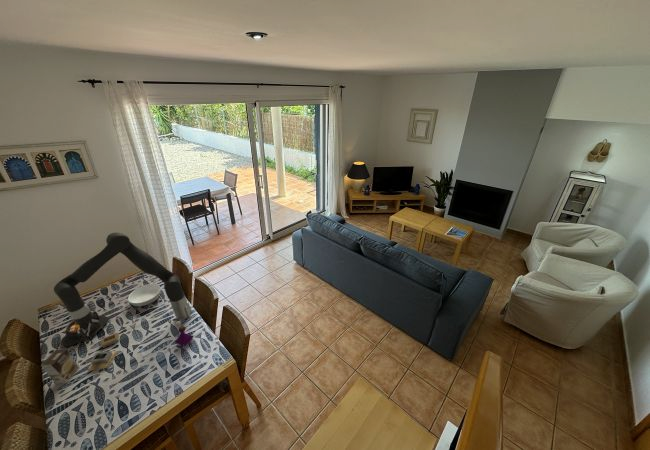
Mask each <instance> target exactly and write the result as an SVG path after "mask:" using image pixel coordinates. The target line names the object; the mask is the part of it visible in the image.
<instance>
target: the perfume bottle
mask: <svg viewBox="0 0 650 450" xmlns="http://www.w3.org/2000/svg"><path fill="white" fill-rule="evenodd" d="M174 325H175V326H178V330H177V331H178V332H179V336H178V337H177V338H176V341H175V342H174V343H176V344H178V345H179V346H183V347H187V346H188V344H190V343H191V341H192V339H193V337H194V335H191V334H190V333H186V332H185V331H186V329H187V328H186V326H184V325H182V322H181V320H177V321H176V322H175V323H174Z"/></svg>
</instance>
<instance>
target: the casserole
mask: <svg viewBox="0 0 650 450" xmlns="http://www.w3.org/2000/svg"><path fill="white" fill-rule="evenodd" d="M99 317H100V319H99V324H100V326H101V327H100V328H96V327H95V326H94V323H93V325H91V327H90V331H89V335H90V337H91V338H92V337H93V336H95V335H96V334H97V333H98V332H100V331H101V330H102V328H103V327H104V326H105V325H106V324H107V323H108V322H109V320H110V319H109V317H108V316H106V315H99ZM79 328H80V327H79V325H77V324H76V323H75V322H74V320H72V321H71V322H70V323H69V324H68V325H67V326H66V327H65V335H64V336H63V337H62V338H61V340H60V344H61V345H62V346H64V347H71V346H73V345H76V344H77V343H80V342H82V341H86V340H85V338H84V339H79V337H78V335H77V334H76V330H79ZM85 330H87V329H84V331H85ZM85 334H86V332H85Z"/></svg>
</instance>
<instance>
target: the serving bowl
mask: <svg viewBox="0 0 650 450" xmlns="http://www.w3.org/2000/svg"><path fill="white" fill-rule="evenodd" d="M161 292H162V288H161V286H160V285H159V284H157V283H149V284H144V285H142V286H139V287H138V288H136V289H134V290H133V291H131V293H130V294H129V296H128V297H127V301H128V302H129V304H131V305H132V306H135V307H144V306H148V305H150V304H152V303H154V302H155V301H156V300H157V299H158V298H159V297H160V295H161Z"/></svg>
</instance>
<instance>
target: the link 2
mask: <svg viewBox="0 0 650 450" xmlns="http://www.w3.org/2000/svg"><path fill="white" fill-rule="evenodd" d="M98 353H99V352H96V353H94V355H93V357H91V360H90V361H89V362H90V365H91V364H92V365H96V364H103V363H108V361H109V360H110V358H111V356H112V355H113V354H112V352H111V351H103V352H102V351H101V352H100V353H101V354H102V355H103V357H105V358H100V359H99V356H98Z"/></svg>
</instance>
